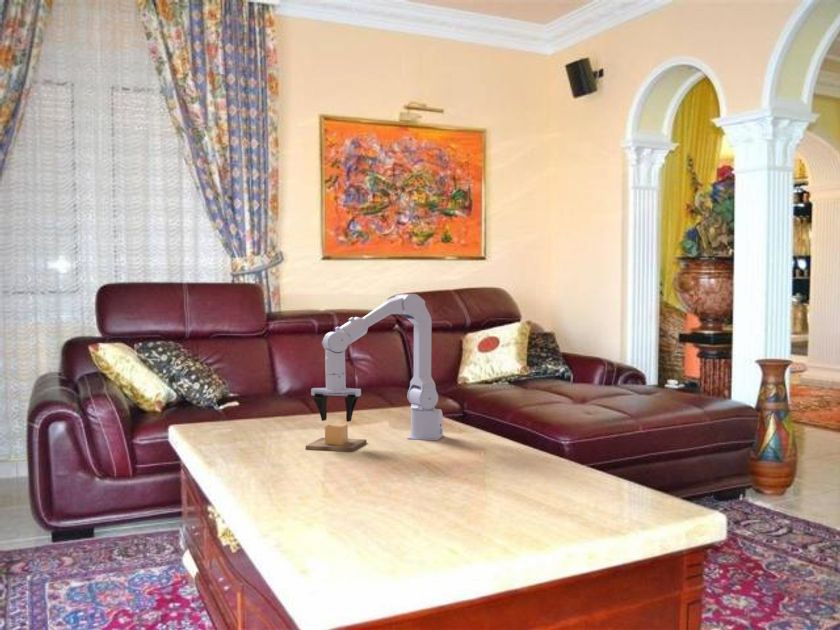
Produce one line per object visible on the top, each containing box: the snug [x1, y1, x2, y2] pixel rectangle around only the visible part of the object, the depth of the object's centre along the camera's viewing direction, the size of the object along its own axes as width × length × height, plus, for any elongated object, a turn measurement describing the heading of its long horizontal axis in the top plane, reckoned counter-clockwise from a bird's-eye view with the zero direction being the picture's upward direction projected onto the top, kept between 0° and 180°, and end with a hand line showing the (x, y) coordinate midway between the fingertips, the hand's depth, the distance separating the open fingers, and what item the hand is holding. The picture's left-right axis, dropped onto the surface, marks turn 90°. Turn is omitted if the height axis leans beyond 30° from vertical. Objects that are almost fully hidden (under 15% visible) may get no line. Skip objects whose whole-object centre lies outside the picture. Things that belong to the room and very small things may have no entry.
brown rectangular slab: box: [305, 437, 368, 452], centre depth 213 cm, size 14×12×5 cm
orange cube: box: [324, 423, 349, 445], centre depth 213 cm, size 5×5×5 cm
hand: (336, 420), depth 213 cm, fingers open, 7 cm apart
